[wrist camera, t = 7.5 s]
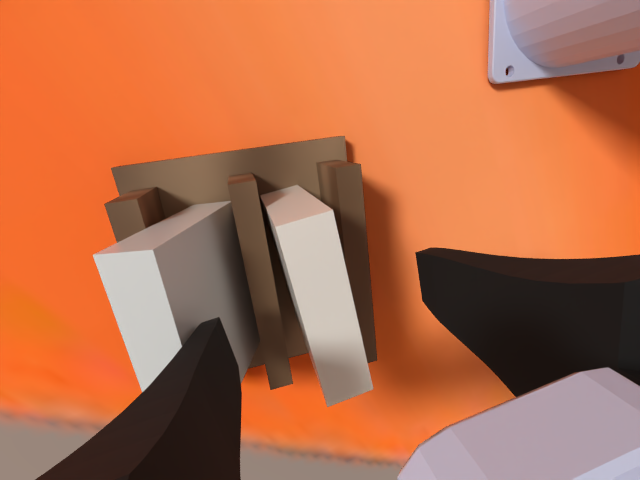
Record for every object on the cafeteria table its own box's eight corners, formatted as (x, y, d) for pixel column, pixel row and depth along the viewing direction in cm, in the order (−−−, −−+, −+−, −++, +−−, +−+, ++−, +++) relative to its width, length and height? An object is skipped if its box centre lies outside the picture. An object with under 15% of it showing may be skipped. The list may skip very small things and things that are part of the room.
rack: (339, 135, 16) (370, 135, 13) (359, 330, 20) (388, 374, 16) (117, 166, 14) (77, 176, 11) (181, 376, 18) (168, 438, 14)
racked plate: (232, 200, 15) (153, 249, 9) (261, 338, 17) (212, 447, 11) (193, 204, 15) (93, 254, 9) (227, 339, 17) (162, 446, 11)
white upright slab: (297, 185, 16) (332, 209, 10) (330, 311, 18) (373, 389, 12) (260, 195, 15) (275, 226, 10) (297, 323, 18) (327, 407, 12)
